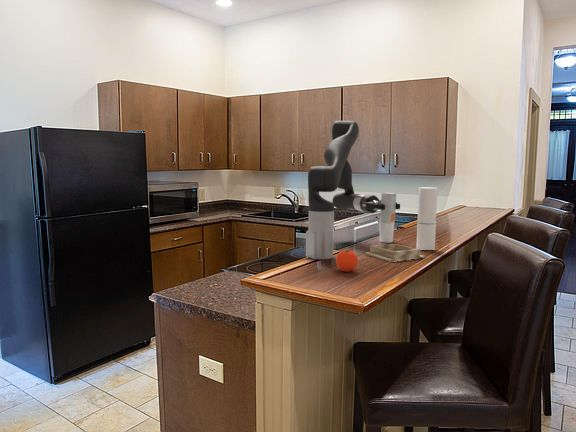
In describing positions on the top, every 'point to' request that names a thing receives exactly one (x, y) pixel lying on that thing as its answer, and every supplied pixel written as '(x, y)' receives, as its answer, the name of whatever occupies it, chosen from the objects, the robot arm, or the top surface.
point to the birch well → (394, 252)
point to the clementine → (346, 260)
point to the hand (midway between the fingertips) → (392, 206)
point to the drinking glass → (386, 232)
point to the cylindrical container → (426, 218)
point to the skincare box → (388, 208)
